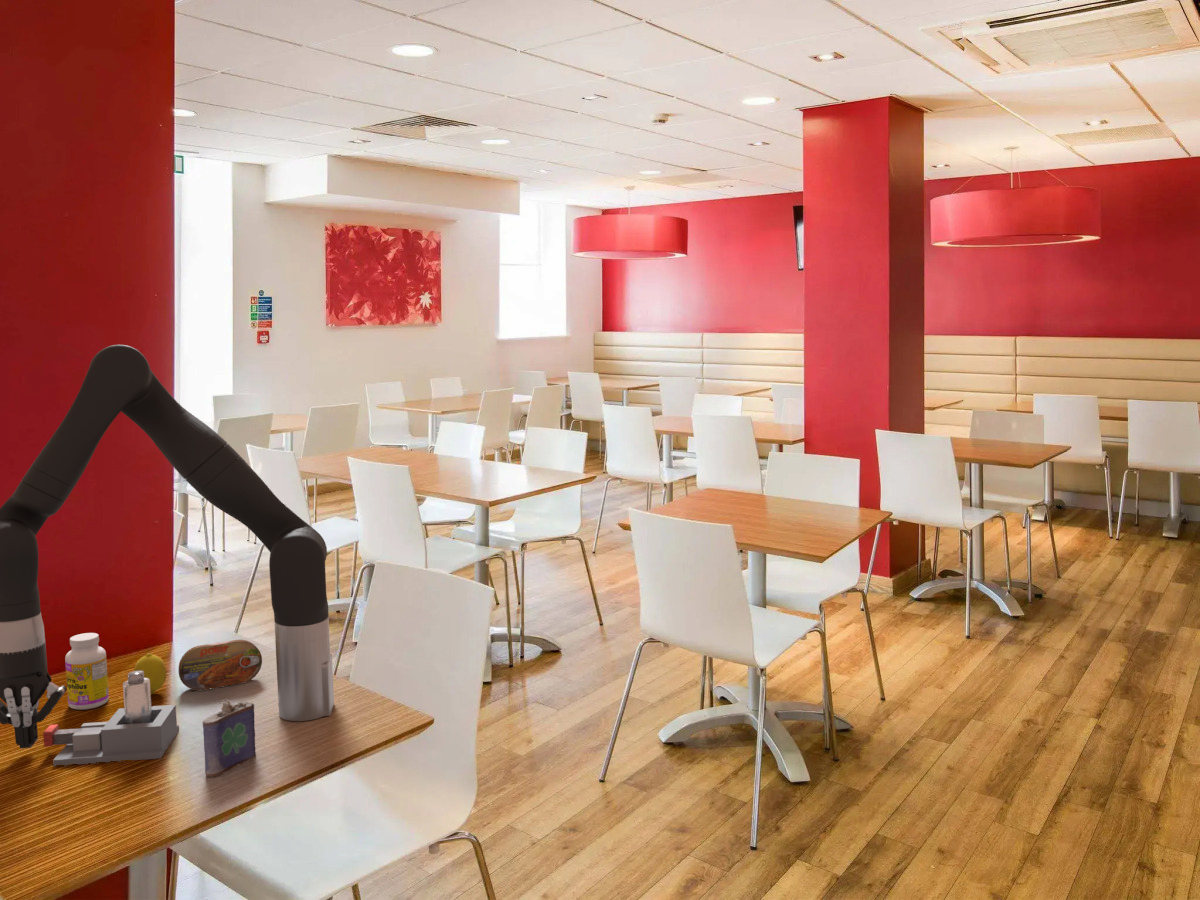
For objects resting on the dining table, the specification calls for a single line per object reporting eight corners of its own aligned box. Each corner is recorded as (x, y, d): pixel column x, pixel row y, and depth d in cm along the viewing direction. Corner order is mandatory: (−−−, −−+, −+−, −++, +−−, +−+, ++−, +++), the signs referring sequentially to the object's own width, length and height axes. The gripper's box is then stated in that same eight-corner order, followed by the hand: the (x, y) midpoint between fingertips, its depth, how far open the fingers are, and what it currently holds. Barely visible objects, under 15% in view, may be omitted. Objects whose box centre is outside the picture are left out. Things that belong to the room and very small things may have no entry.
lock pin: (111, 735, 160) (110, 720, 160) (105, 742, 157) (104, 728, 157) (51, 739, 158) (50, 724, 158) (44, 747, 155) (43, 732, 155)
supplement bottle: (60, 708, 176) (54, 639, 174) (91, 695, 182) (86, 629, 180) (86, 713, 173) (81, 644, 172) (117, 700, 179) (112, 633, 178)
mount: (178, 730, 166) (177, 702, 165) (160, 758, 155) (159, 728, 154) (78, 737, 163) (76, 709, 162) (53, 766, 152) (51, 736, 152)
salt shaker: (156, 734, 162) (152, 668, 160) (149, 744, 158) (145, 676, 156) (131, 736, 161) (126, 669, 159) (123, 746, 157) (118, 678, 156)
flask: (212, 779, 147) (208, 712, 146) (199, 775, 149) (195, 708, 148) (260, 756, 155) (257, 692, 154) (247, 752, 157) (244, 689, 156)
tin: (180, 694, 182) (177, 651, 181) (178, 688, 185) (176, 646, 184) (263, 680, 189) (261, 639, 188) (261, 675, 192) (259, 634, 191)
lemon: (154, 700, 179) (152, 659, 178) (128, 698, 180) (125, 657, 179) (173, 689, 184) (171, 649, 183) (148, 687, 185) (145, 647, 184)
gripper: (71, 633, 159) (79, 733, 161) (-17, 638, 157) (-7, 739, 159) (53, 648, 152) (62, 752, 154) (-39, 653, 150) (-28, 759, 152)
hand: (27, 746), depth 156 cm, fingers closed
